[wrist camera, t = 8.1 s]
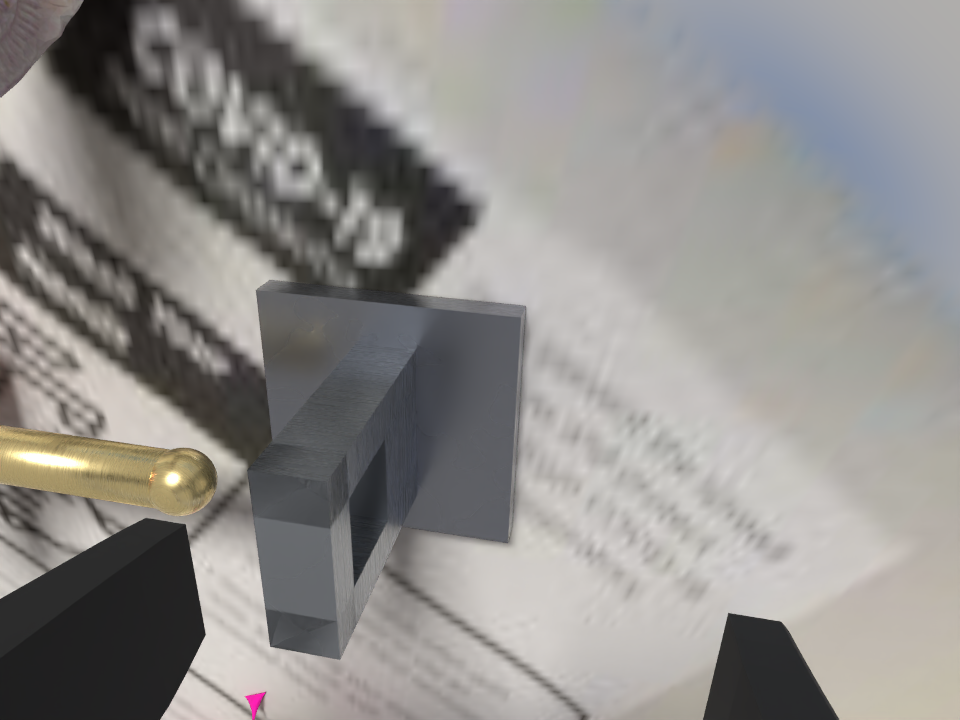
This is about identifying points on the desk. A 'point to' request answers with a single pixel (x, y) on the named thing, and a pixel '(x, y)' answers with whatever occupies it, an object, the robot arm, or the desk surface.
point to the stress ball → (254, 702)
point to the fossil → (29, 34)
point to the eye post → (375, 442)
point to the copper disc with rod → (107, 470)
